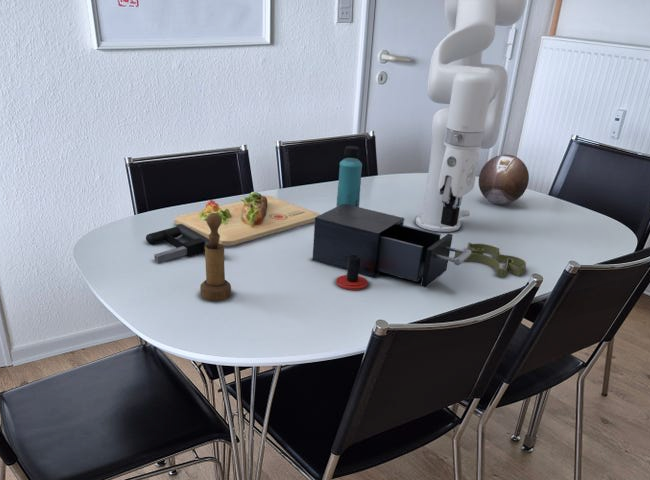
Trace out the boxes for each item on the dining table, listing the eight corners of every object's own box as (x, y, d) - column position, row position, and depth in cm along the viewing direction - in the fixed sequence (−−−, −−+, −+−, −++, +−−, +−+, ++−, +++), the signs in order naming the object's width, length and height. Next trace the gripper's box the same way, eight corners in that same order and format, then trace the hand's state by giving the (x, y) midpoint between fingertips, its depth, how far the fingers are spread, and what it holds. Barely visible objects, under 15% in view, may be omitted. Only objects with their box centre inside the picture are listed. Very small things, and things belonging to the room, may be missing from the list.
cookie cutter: (446, 257, 165) (448, 250, 164) (474, 247, 172) (475, 240, 171) (508, 281, 154) (510, 273, 153) (535, 269, 161) (536, 261, 160)
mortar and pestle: (201, 288, 142) (198, 208, 133) (231, 288, 143) (230, 208, 133) (199, 301, 136) (196, 218, 127) (230, 302, 137) (230, 219, 128)
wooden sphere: (474, 207, 202) (483, 158, 194) (474, 193, 214) (483, 147, 206) (524, 213, 199) (535, 163, 191) (521, 199, 212) (531, 152, 204)
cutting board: (226, 249, 162) (225, 220, 158) (171, 223, 176) (169, 196, 172) (322, 220, 184) (324, 194, 180) (267, 200, 198) (267, 175, 194)
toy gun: (169, 261, 148) (228, 244, 156) (129, 235, 161) (185, 220, 169) (171, 275, 149) (229, 256, 158) (131, 247, 162) (187, 232, 171)
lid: (357, 275, 152) (359, 249, 149) (373, 287, 147) (376, 260, 144) (330, 279, 149) (332, 253, 146) (346, 292, 144) (348, 265, 141)
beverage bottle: (356, 222, 184) (363, 150, 174) (333, 220, 185) (338, 148, 175) (359, 215, 189) (366, 145, 179) (337, 213, 190) (342, 143, 180)
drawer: (470, 276, 153) (477, 240, 148) (450, 294, 143) (457, 257, 139) (388, 254, 162) (392, 219, 157) (364, 270, 153) (368, 233, 148)
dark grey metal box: (398, 259, 162) (404, 217, 156) (373, 277, 152) (378, 233, 146) (340, 244, 169) (343, 203, 164) (312, 260, 159) (314, 217, 153)
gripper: (468, 147, 126) (452, 238, 135) (492, 135, 137) (476, 219, 146) (432, 141, 129) (419, 229, 138) (458, 129, 140) (445, 212, 149)
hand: (448, 224), depth 142 cm, fingers closed
